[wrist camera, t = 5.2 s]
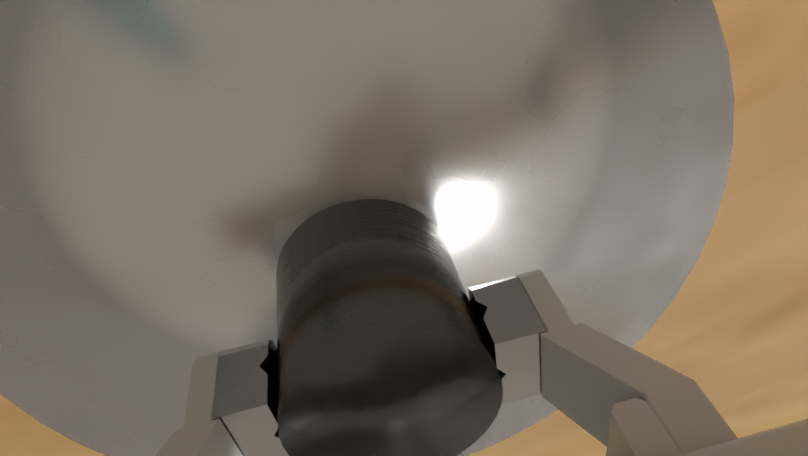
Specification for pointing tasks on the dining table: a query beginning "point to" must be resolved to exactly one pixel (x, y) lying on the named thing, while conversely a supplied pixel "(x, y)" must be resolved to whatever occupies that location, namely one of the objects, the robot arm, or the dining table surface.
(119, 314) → the lid
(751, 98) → the dining table surface
